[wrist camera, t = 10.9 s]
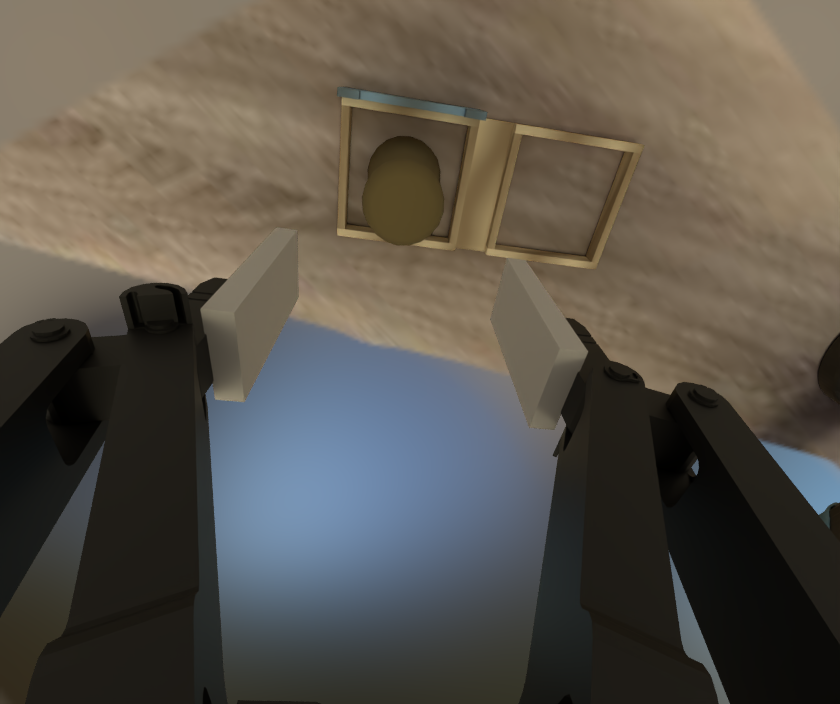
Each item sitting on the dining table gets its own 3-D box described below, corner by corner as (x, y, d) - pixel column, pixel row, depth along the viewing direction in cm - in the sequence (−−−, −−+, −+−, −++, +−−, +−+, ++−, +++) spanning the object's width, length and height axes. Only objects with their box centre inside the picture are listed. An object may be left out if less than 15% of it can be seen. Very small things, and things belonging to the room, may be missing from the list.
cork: (360, 141, 32) (341, 163, 23) (436, 130, 32) (448, 148, 23) (375, 218, 36) (363, 265, 26) (444, 209, 35) (457, 252, 26)
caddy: (638, 135, 33) (668, 142, 29) (589, 263, 38) (609, 282, 35) (344, 87, 30) (335, 86, 27) (339, 230, 36) (331, 246, 32)
